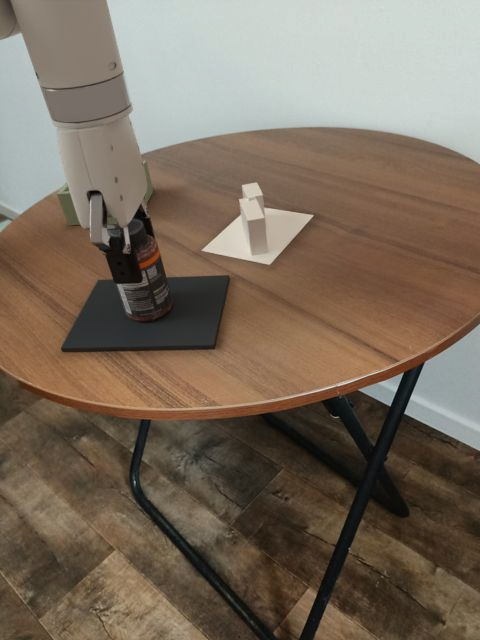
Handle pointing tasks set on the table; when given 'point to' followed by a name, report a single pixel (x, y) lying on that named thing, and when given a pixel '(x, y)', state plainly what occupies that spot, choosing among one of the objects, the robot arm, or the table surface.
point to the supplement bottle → (145, 278)
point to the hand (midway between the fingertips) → (136, 264)
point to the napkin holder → (257, 230)
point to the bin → (69, 207)
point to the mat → (161, 334)
